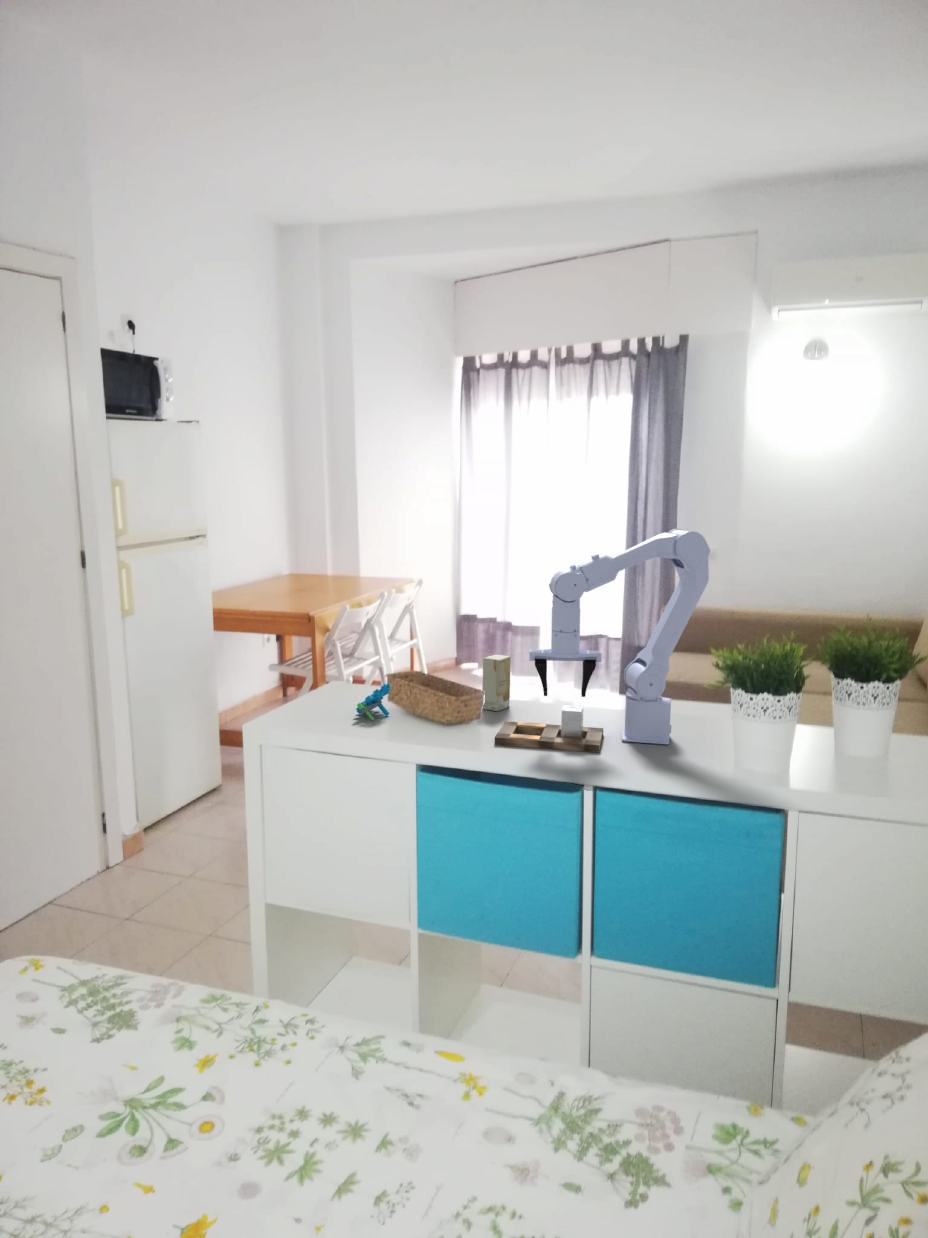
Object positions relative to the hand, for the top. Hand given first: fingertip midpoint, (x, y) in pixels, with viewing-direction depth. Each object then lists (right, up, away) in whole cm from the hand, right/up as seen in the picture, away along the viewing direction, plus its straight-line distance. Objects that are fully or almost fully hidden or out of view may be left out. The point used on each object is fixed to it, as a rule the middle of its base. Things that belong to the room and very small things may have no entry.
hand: (564, 695), depth 175 cm
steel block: (+2, -10, 0) cm, 10 cm away
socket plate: (-3, -9, +1) cm, 10 cm away
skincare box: (-13, -5, +26) cm, 29 cm away
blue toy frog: (-41, -6, +19) cm, 46 cm away
